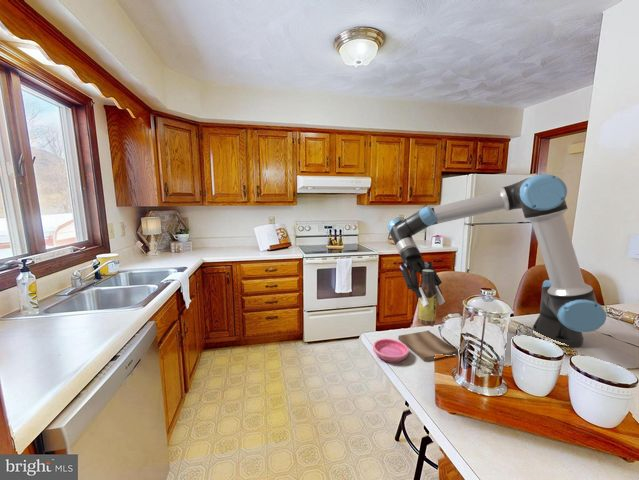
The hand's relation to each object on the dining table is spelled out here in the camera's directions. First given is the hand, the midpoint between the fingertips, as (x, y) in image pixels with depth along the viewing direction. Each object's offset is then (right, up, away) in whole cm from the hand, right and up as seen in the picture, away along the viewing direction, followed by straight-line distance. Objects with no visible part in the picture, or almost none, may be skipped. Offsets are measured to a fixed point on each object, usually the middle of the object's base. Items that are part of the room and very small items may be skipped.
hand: (434, 304), depth 96 cm
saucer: (-15, -19, +1) cm, 24 cm away
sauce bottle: (-1, -8, +5) cm, 9 cm away
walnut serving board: (-1, -17, +6) cm, 18 cm away
